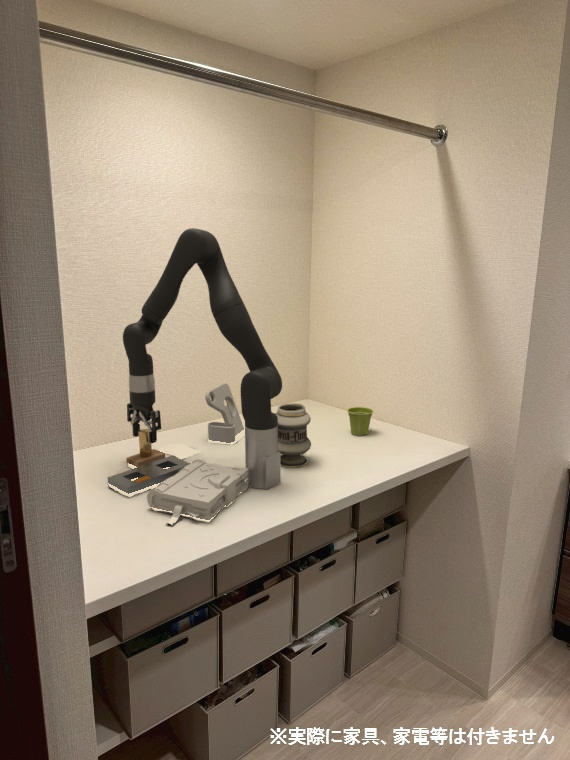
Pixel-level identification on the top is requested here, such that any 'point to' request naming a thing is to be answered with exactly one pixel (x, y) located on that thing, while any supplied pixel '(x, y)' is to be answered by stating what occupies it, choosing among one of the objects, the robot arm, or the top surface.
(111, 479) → the grey peg board
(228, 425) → the phone holder
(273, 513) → the top surface
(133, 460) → the block
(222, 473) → the book
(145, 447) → the brass peg
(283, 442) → the apothecary jar
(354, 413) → the plant pot
